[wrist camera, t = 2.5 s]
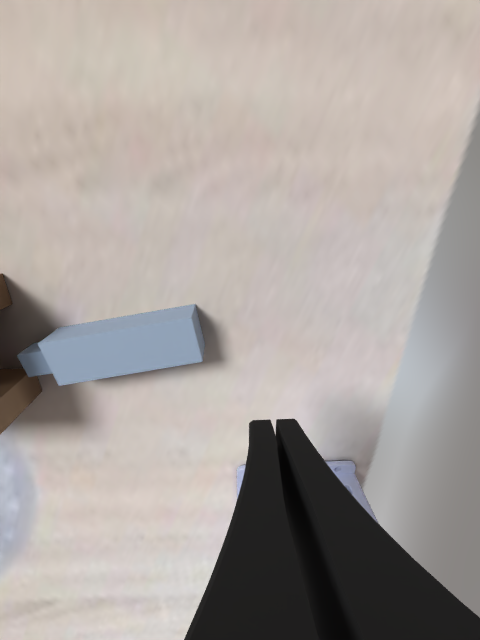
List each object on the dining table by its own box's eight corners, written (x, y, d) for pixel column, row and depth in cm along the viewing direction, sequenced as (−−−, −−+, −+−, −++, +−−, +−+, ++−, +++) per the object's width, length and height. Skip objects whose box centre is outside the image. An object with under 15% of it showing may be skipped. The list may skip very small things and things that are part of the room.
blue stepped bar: (195, 302, 17) (191, 317, 15) (205, 342, 18) (202, 361, 16) (33, 330, 18) (5, 349, 15) (52, 368, 19) (28, 391, 16)
